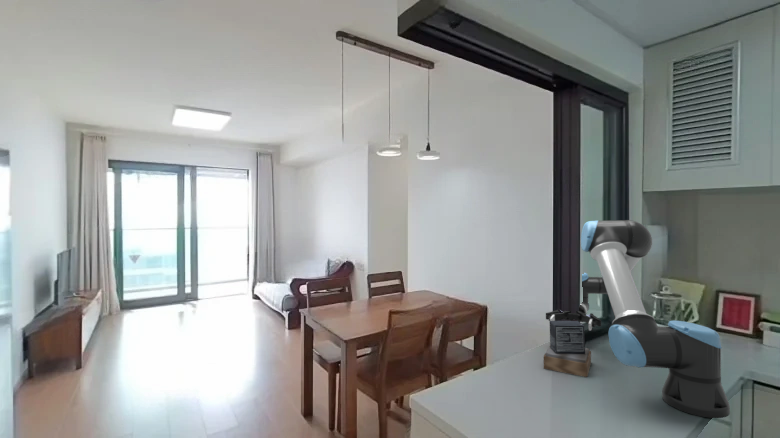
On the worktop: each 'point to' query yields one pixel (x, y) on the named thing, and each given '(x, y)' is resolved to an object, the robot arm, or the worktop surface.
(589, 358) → the base
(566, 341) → the small box
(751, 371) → the worktop surface
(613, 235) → the robot arm
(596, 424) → the worktop surface
